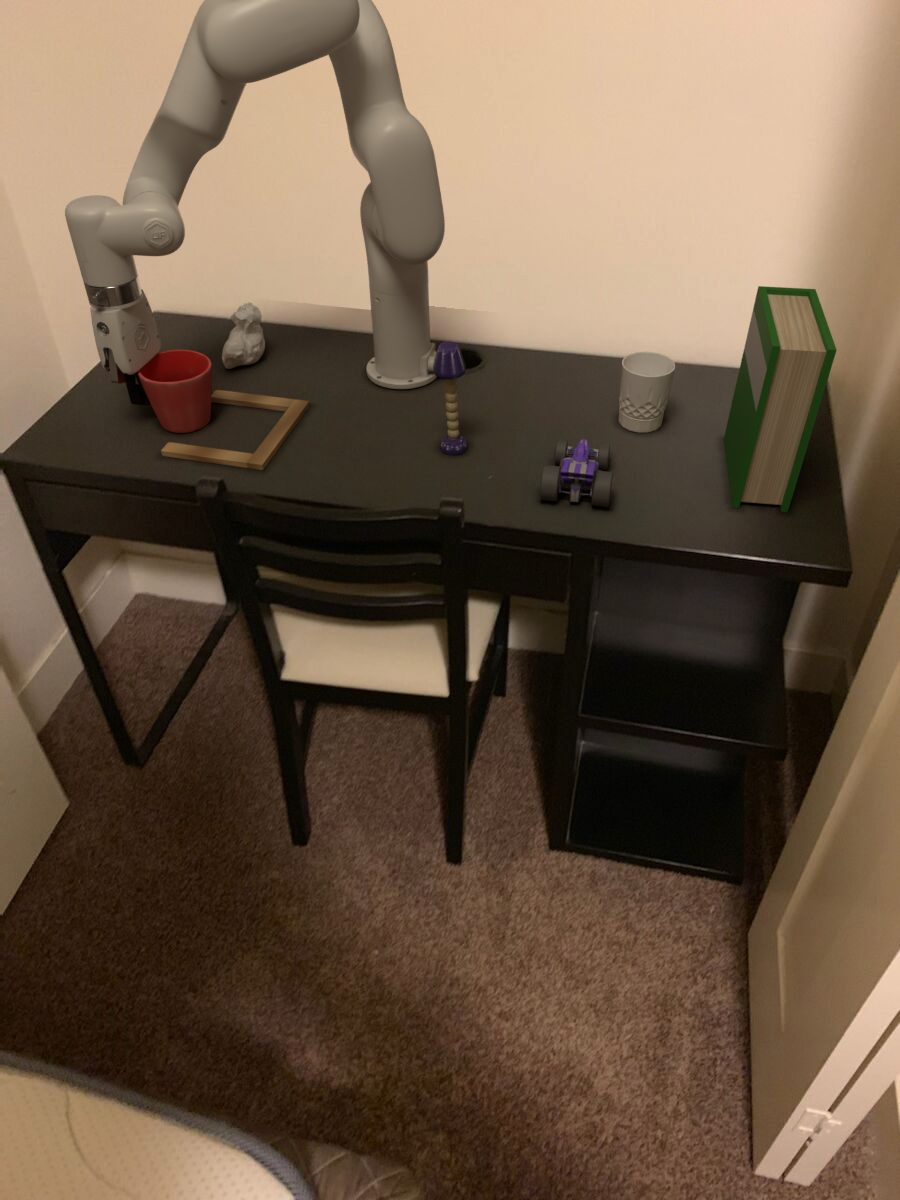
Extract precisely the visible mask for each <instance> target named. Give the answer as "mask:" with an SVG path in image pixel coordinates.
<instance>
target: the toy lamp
mask: <svg viewBox="0 0 900 1200" xmlns="http://www.w3.org/2000/svg"><path fill="white" fill-rule="evenodd" d="M436 351H437V354H436V359H435V363H434V374H435V375H436V376H437V378H438V379H441V380H444V391H445V395H444V398H445V401H446V402H445V409H446V412H445V417H446V419H447V421H446V426H447V435H445V436H444V437H443V438H442V439H441V441H440V443H439V450H440V451H441V452H442V453H443V454H445V455H448V456H459V455H462V454H464V453H465V452H466V451H467V450H468V447H469V446H468V441H467V439H466V438H465V437H464V436H462V435H461V434H460V430H459V425H460V423H459V412H458V408H459V404H458V401H457V400H458V392H457V389H458V384H457V379H459V378H462V377H463V376H464V375H465V374H466V372H467V366H466V363H465V360H464V359H465V358H464V357H463V356H464V355H463V353H462V351H461V348H460V345H459V344H458V343H457V342H454V341H443V342H441V343H440V344H438V347H437V350H436Z"/></svg>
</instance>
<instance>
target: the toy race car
mask: <svg viewBox="0 0 900 1200" xmlns="http://www.w3.org/2000/svg"><path fill="white" fill-rule="evenodd" d="M610 450H611V444H610V443H609V444H608V443H607V444H606V443H600V444H599V445H598V449H597V448H590V442H589V441H588V440H587V439H585V438H583V439H580V440H579V442H578V443H577V445H576V446H569V440H567V439H557V441H556V445H555V451H554V465H551V464H550V465H549V464H544V466H543V468H542V472H541V477H540V486H539V499H540V500H541V501H547V502H548V501H549V502H557V500H558V499H559V494H561V493H564V494H567V495H569V502H572V503H579V502H580V499H581V497H582V496H589V497H590V498H591V506H594V507H603V508H608V507H609V506H610V500H611V494H612V484H613V477H614V474H613V472H612V471H607V469H608V468H609V467H608V465H609V458H610V452H611V451H610Z"/></svg>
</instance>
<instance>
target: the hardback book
mask: <svg viewBox="0 0 900 1200" xmlns="http://www.w3.org/2000/svg"><path fill="white" fill-rule="evenodd" d="M754 299H755V300H754V304H753V308H752V312H751V317H750V322H749V325H748V331H747V334H746V339H745V343H744V348H743V352H742V356H741V360H740V366H739V370H738V374H737V378H736V383H735V387H734V391H733V396H732V401H731V404H730V409H729V413H728V419H727V423H726V427H725V432H724V436H723V446H724V452H725V462H726V469H727V477H728V484H729V486H728V487H729V494H730V500H731V508H732V509H740V506H741V503H753V504H765V505H776V506H777V505H778V506H779V511H780V513H789V509H790V506H791V502H792V499H793V497H794V493H795V489H796V486H797V483H798V480H799V476H800V473H801V470H802V466H803V463H804V460H805V456H806V452H807V450H808V446H809V443H810V439H811V437H812V433H813V429H814V426H815V423H816V420H817V416H818V413H819V411H820V407H821V403H822V399H823V397H824V393H825V390H826V388H827V387H826V386H827V384H828V380H829V377H830V373H831V370H832V367H833V364H834V360H835V357H836V354H837V350H838V349H837V347H836V344H835V341H834V338H833V334H832V333H831V330H830V326H829V324H828V321H827V318H826V316H825V315H826V314H825V312H824V309H823V307H822V304H821V301H820V298H819V296H818V293H817V289H816V288H804V287H803V288H802V287H781V286H765V285H764V286H760V285H758V286H757V291H756V295H755V298H754Z"/></svg>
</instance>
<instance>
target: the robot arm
mask: <svg viewBox="0 0 900 1200" xmlns="http://www.w3.org/2000/svg"><path fill="white" fill-rule="evenodd" d="M191 23H192V24H191V26H190V28H189V32H188V34H187V37H186V39H185V42H184V44H183V46H182V49H181V53H180V56H179V59H178V61H177V64H176V67H175V69H174V72H173V74H172V77H171V79H170V82H169V85H168V86H167V89H166V92H165V95H164V97H163V100H162V102H161V104H160V106H159V109H158V110H157V112H156V114H155V117H154V119H153V122H152V123H151V125H150V127H149V129H148V131H147V133H146V135H145V137H144V139H143V142H142V144H141V146H140V148H139V151H138V153H137V156H136V159H135V161H134V164H133V166H132V169H131V172H130V173H129V177H128V180H127V182H126V184H125V185H126V186H125V188H124V192H123V197H122V204H121V203H119V202H118V201H117V199H115V198H113V197H111V196H108V195H107V196H106V195H101V194H100V195H99V194H97V195H96V194H94V195H85V196H81V197H77V198H75V199H72V200H71V201H70V202H69V203H67V205H66V207H65V209H64V216H65V221H66V226H67V228H68V229H67V230H68V232H69V235H70V240H71V243H72V246H73V251H74V255H75V257H76V261H77V264H78V267H79V271H80V275H81V278H82V282H83V285H84V289H85V292H86V296H87V300H88V303H89V305H90V308H89V309H90V317H91V324H92V332H93V336H94V341H95V345H96V349H97V353H98V357H99V360H100V363H101V366H102V368H103V369H104V371H105V372H109V374H110V382H111V383H113V384H119V385H120V384H121V385H122V384H125V386H126V389H127V393H128V397H129V402H130V404H132V405H133V406H134V405H135V406H142V407H149V406H150V405H151V403H150V401H149V399H148V396H147V394H146V392H145V390H144V388H143V385H142V383H141V381H140V378H139V376H138V373H137V371H138V370H140V369H141V368H142V367H143V366H144V365H145V364H146V363H147V362H148V361H150V360H151V359H152V358H153V357H154V356H155V355H156V354H157V353H160V350H161V348H162V341H161V338H160V333H159V330H158V326H157V323H156V320H155V317H154V313H153V310H152V308H151V305H150V302H149V300H148V298H147V295H146V293H145V291H144V290H143V289H142V287H141V283H140V279H139V275H138V270H137V266H136V262H135V257H134V256H140V257H164V256H169V255H172V254H174V253H175V252H177V251H178V250H179V249H180V248H181V246H182V245H183V243H184V241H185V236H186V227H185V222H184V219H183V217H182V215H181V211H180V209H179V204H180V202H181V200H182V197H183V194H184V191H185V189H186V187H187V184H188V182H189V180H190V178H191V175H192V173H193V172H194V170H195V169H196V166H197V164H198V163H199V161H200V160H201V159H202V158H203V157H204V156H205V155H206V154H207V153H208V152H210V151H212V150H214V149H215V148H217V147H218V146H219V145H220V144H221V143H222V142H223V140H224V139H225V137H226V135H227V133H228V130H229V128H230V125H231V122H232V120H233V117H234V115H235V112H236V109H237V107H238V105H239V102H240V100H241V98H242V96H243V93H244V90H245V88H246V86H247V84H251V83H257V82H260V81H263V80H266V79H269V78H273V77H275V76H277V75H281V74H284V73H286V72H288V71H291V70H294V69H296V68H298V67H301V66H304V65H307V64H309V63H311V62H314V61H317V60H320V59H322V58H324V57H326V56H328V57H329V60H330V62H331V65H332V68H333V70H334V71H333V72H334V75H335V79H336V83H337V87H338V90H339V95H340V97H341V98H340V99H341V103H342V104H341V105H342V109H343V113H344V114H343V115H344V118H345V123H346V129H347V134H348V140H349V145H350V148H351V152H352V154H353V156H354V158H355V159H356V160H357V162H358V163H359V164H360V166H362V168H363V169H364V170H365V171H366V172H367V174H368V177H369V181H370V182H368V184H367V186H366V187H365V188H364V191H363V194H362V196H361V198H360V199H361V200H360V207H359V212H360V213H359V215H360V224H361V230H362V235H363V242H364V247H365V254H366V262H367V264H366V265H367V273H368V289H369V302H370V313H371V327H372V340H373V352H374V354H373V355H374V356H373V357H372V358H371V359H370V360H369V361H368V362H367V364H366V368H365V369H366V376H367V378H368V379H369V380H370V381H371V382H372V383H374V384H375V385H377V386H379V387H383V388H386V389H392V390H410V389H417V388H419V387H420V388H421V387H424V386H426V385H428V384H430V383H432V382H433V381H435V380H436V379H438V377H437V376H436V375H435V374H434V363H435V359H436V354H437V350H436V343H435V342H431V330H430V329H431V327H430V326H431V325H430V290H429V289H430V288H429V283H430V282H429V281H430V279H429V263H428V262H429V261H430V260H431V259H432V258H433V257H434V256H436V254H437V253H438V252H439V250H440V248H441V246H442V243H443V242H444V237H445V231H446V229H445V228H446V223H445V222H446V221H445V213H444V212H445V211H444V206H443V199H442V192H441V186H440V181H439V173H438V167H437V161H436V155H435V151H434V147H433V144H432V141H431V139H430V136H429V134H428V132H427V130H426V128H425V126H424V125H423V124H422V123H421V122H420V120H418V119H417V118H416V117H415V116H414V115H413V114H412V113H411V112H410V111H409V110H408V108H407V105H406V101H405V98H404V93H403V88H402V83H401V79H400V74H399V70H398V66H397V61H396V56H395V52H394V47H393V43H392V40H391V37H390V33H389V30H388V28H387V26H386V23H385V21H384V19H383V17H382V14H381V13H380V11H379V10H378V8H377V6H376V4H375V3H374V2H373V0H203V2H201V5H199V8H198V10H197V12H196V13H195V15H194V19H193V20H192V22H191Z"/></svg>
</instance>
